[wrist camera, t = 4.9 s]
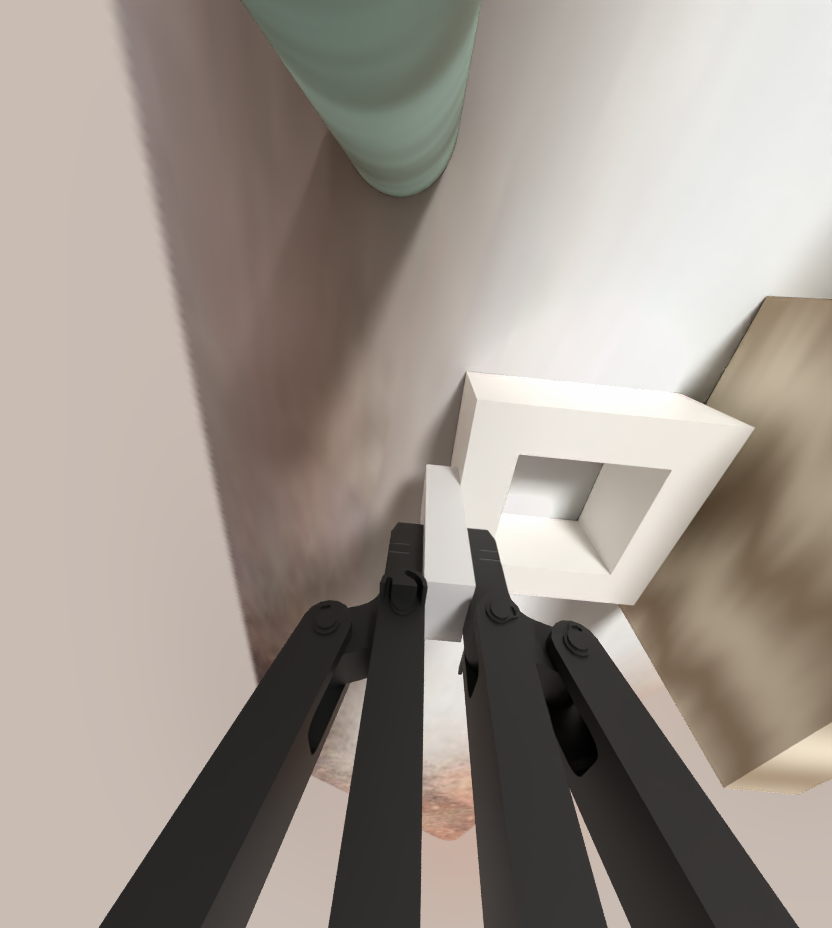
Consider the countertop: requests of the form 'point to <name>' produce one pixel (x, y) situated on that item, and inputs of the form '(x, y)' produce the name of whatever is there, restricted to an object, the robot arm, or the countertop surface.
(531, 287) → the countertop surface
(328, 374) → the countertop surface
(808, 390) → the wall
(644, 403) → the socket block
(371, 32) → the dowel
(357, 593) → the countertop surface
